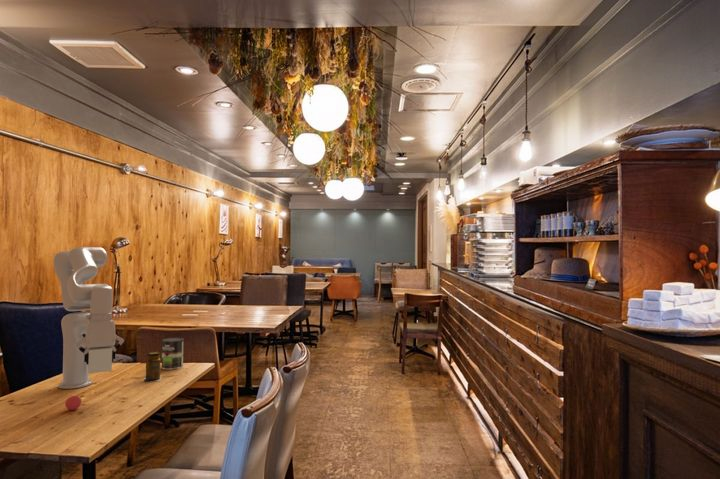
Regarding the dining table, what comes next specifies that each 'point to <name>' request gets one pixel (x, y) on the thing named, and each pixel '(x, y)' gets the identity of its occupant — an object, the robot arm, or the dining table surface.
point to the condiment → (153, 367)
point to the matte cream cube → (100, 360)
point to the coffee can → (172, 353)
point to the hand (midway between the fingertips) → (99, 362)
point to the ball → (73, 402)
